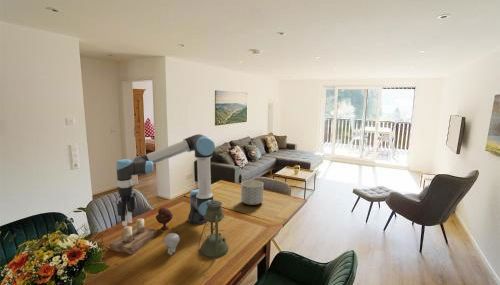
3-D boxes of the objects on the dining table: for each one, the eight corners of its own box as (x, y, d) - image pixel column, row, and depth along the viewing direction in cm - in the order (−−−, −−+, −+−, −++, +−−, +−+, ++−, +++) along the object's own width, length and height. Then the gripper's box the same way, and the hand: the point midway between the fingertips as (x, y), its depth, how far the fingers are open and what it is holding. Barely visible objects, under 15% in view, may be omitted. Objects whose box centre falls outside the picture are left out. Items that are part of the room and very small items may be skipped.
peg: (134, 244, 155) (133, 226, 153) (129, 249, 150) (128, 230, 148) (128, 243, 156) (127, 225, 154) (122, 247, 151) (121, 229, 149)
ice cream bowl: (157, 234, 167) (156, 212, 165) (155, 226, 177) (154, 206, 175) (174, 230, 172) (173, 209, 170) (171, 223, 182) (170, 203, 180)
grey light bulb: (171, 248, 151) (171, 230, 150) (182, 251, 149) (181, 232, 147) (162, 256, 144) (161, 236, 142) (172, 259, 141) (172, 239, 139)
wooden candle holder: (156, 235, 166) (155, 218, 164) (133, 254, 145) (131, 235, 143) (135, 231, 170) (135, 214, 168) (110, 249, 149) (108, 231, 147)
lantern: (231, 257, 144) (232, 207, 139) (200, 262, 139) (199, 211, 134) (224, 238, 164) (225, 194, 159) (197, 242, 159) (196, 196, 154)
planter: (266, 202, 224) (267, 182, 221) (255, 209, 208) (256, 188, 205) (248, 197, 234) (249, 178, 231) (236, 204, 218) (237, 184, 215)
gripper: (129, 181, 155) (131, 217, 159) (108, 190, 140) (111, 229, 144) (140, 182, 154) (142, 218, 157) (119, 191, 138) (122, 231, 142)
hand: (127, 223), depth 151 cm, fingers open, 3 cm apart
